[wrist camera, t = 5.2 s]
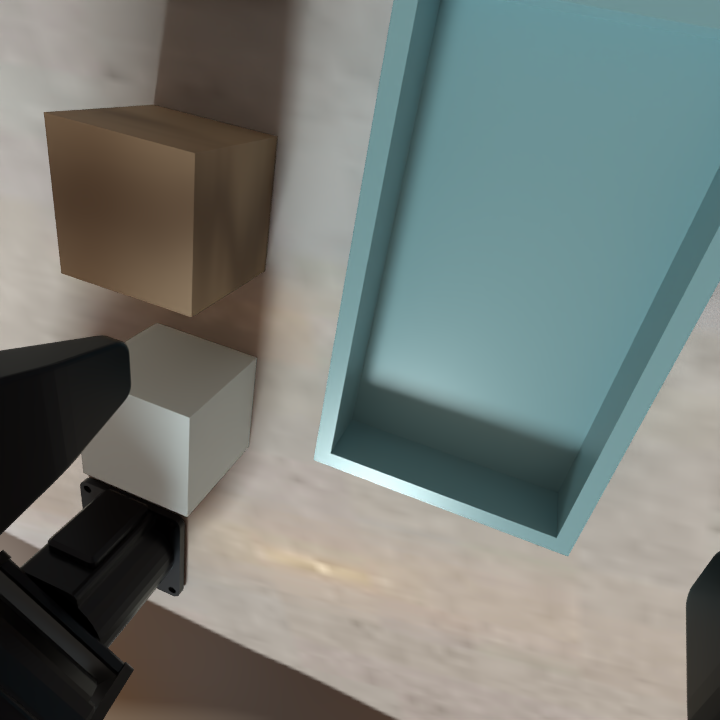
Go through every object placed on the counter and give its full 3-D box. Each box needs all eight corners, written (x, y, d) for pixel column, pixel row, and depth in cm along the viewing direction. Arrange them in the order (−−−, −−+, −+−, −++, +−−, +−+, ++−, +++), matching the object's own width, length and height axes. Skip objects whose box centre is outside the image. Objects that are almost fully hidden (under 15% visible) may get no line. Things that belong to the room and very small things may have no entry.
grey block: (249, 446, 26) (187, 517, 22) (159, 411, 27) (83, 472, 23) (257, 356, 24) (189, 417, 19) (158, 322, 24) (72, 372, 20)
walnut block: (265, 270, 21) (191, 317, 17) (157, 236, 22) (61, 273, 18) (278, 136, 19) (195, 153, 15) (154, 104, 20) (43, 111, 16)
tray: (568, 499, 21) (567, 556, 19) (341, 418, 23) (313, 460, 21) (809, 28, 13) (864, 17, 11) (431, -38, 15) (403, -60, 13)
